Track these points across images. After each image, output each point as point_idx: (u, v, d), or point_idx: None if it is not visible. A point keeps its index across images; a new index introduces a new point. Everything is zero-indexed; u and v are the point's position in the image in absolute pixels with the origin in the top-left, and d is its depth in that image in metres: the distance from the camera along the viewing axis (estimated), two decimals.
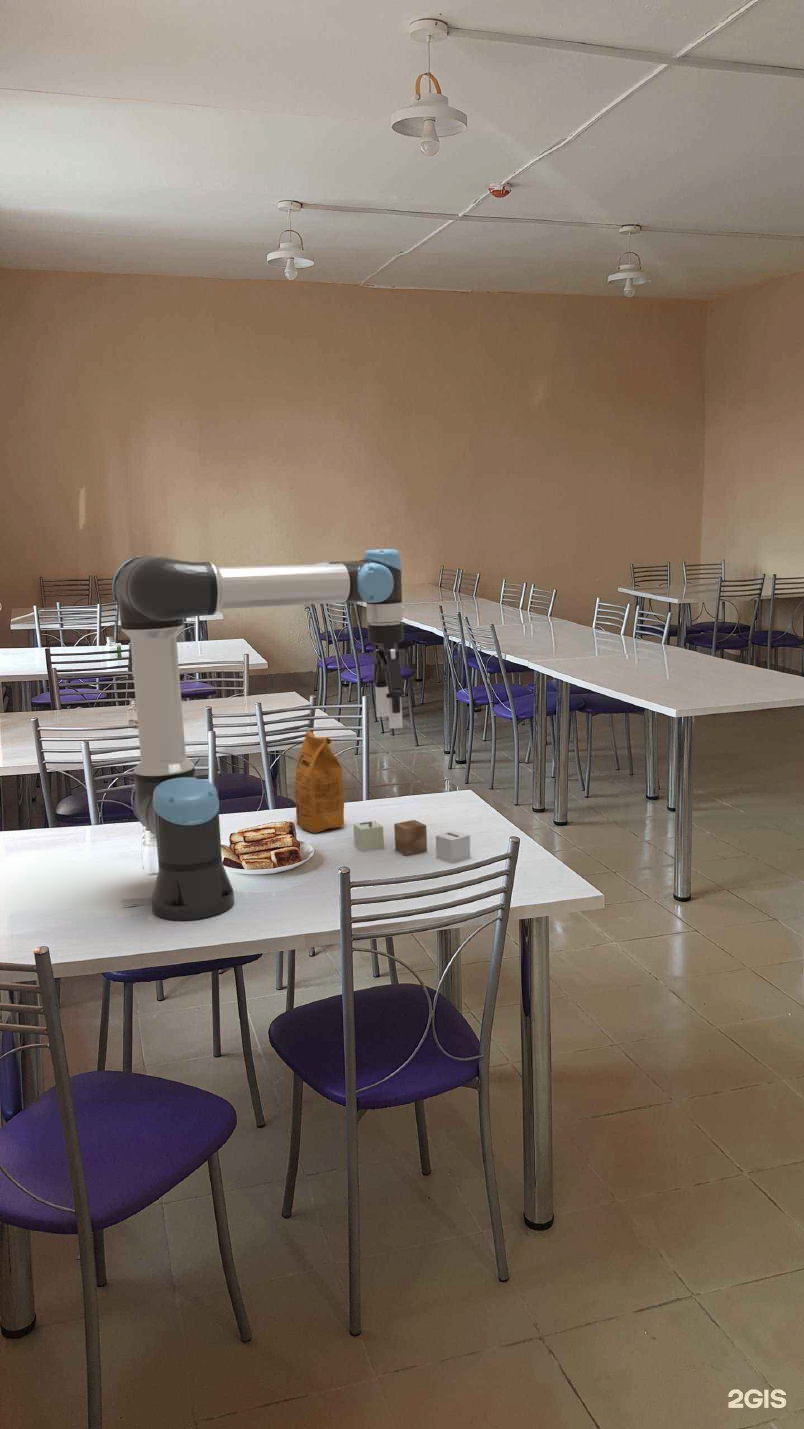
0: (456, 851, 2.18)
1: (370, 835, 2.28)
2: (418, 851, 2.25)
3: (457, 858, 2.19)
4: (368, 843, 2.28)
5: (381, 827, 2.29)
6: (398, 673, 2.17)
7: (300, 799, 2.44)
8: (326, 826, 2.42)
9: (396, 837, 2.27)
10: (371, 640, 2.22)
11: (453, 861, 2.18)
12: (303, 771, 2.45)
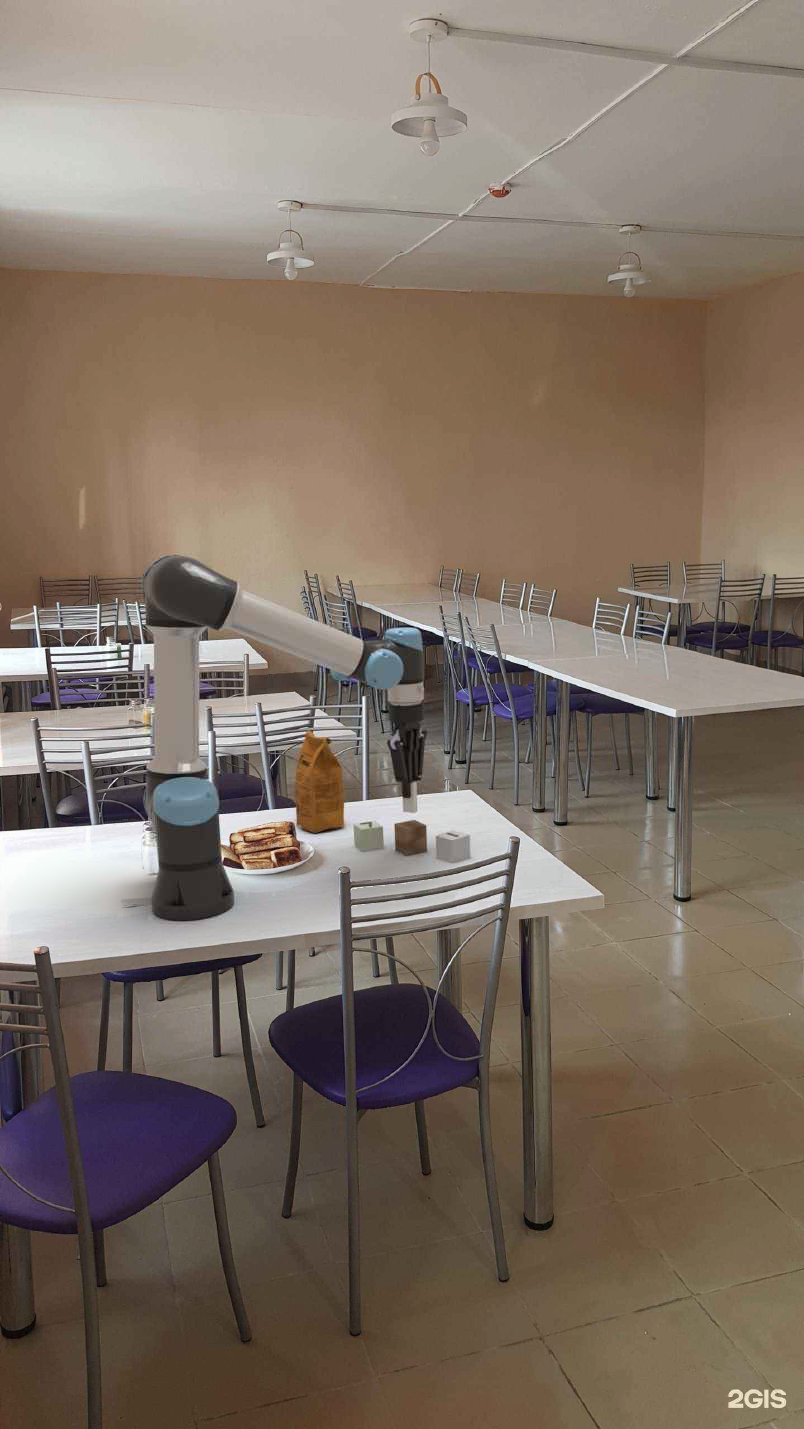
0: (456, 851, 2.18)
1: (370, 835, 2.28)
2: (418, 851, 2.25)
3: (457, 858, 2.19)
4: (368, 843, 2.28)
5: (381, 827, 2.29)
6: (399, 763, 2.19)
7: (300, 799, 2.44)
8: (326, 826, 2.42)
9: (396, 837, 2.27)
10: None
11: (453, 861, 2.18)
12: (303, 771, 2.45)
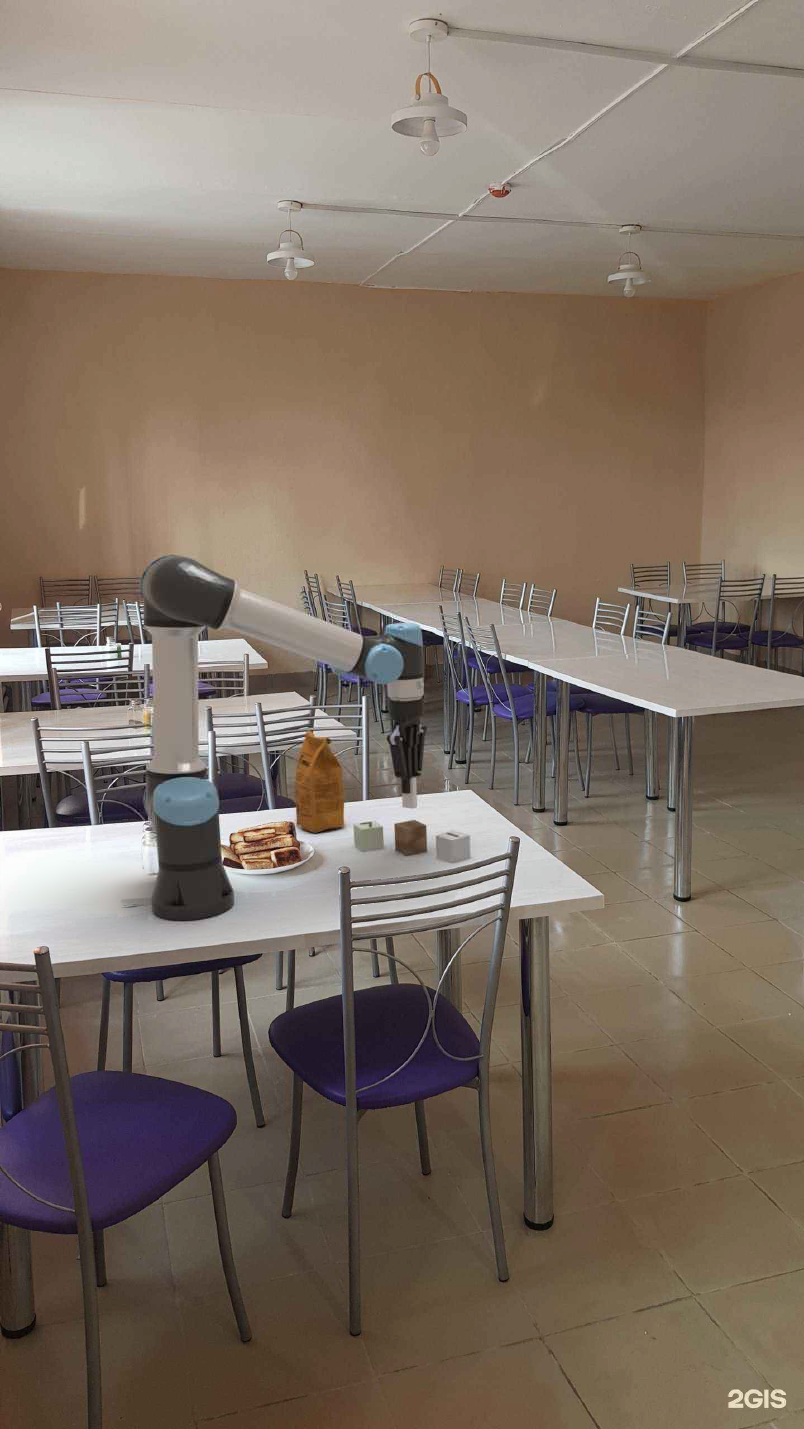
0: (456, 851, 2.18)
1: (370, 835, 2.28)
2: (418, 851, 2.25)
3: (457, 858, 2.19)
4: (368, 843, 2.28)
5: (381, 827, 2.29)
6: (399, 758, 2.19)
7: (300, 799, 2.44)
8: (326, 826, 2.42)
9: (396, 837, 2.27)
10: None
11: (453, 861, 2.18)
12: (303, 771, 2.45)
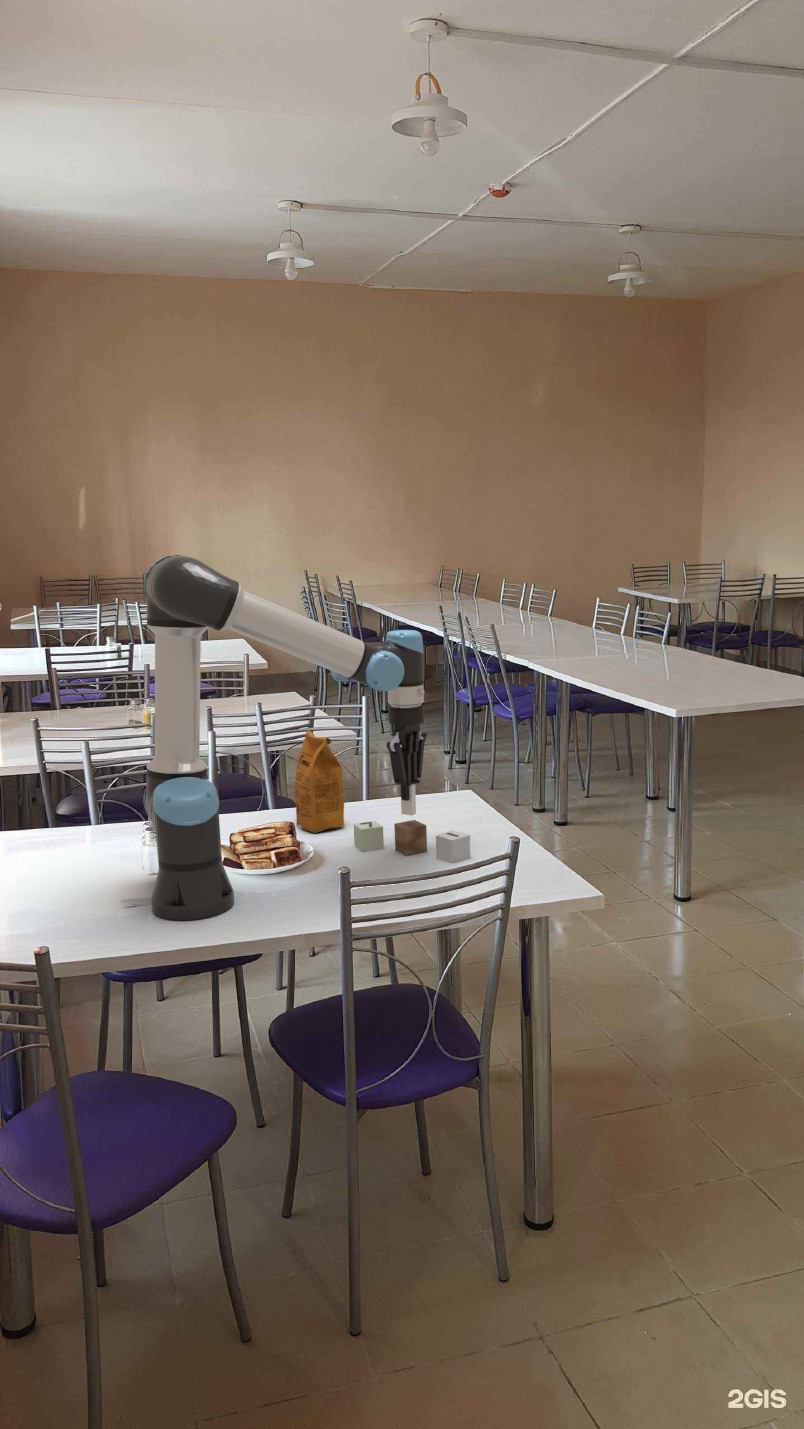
0: (456, 851, 2.19)
1: (370, 835, 2.28)
2: (418, 851, 2.25)
3: (457, 858, 2.19)
4: (368, 843, 2.28)
5: (381, 827, 2.29)
6: (398, 765, 2.19)
7: (300, 799, 2.44)
8: (326, 826, 2.42)
9: (396, 837, 2.27)
10: None
11: (453, 861, 2.18)
12: (303, 771, 2.45)
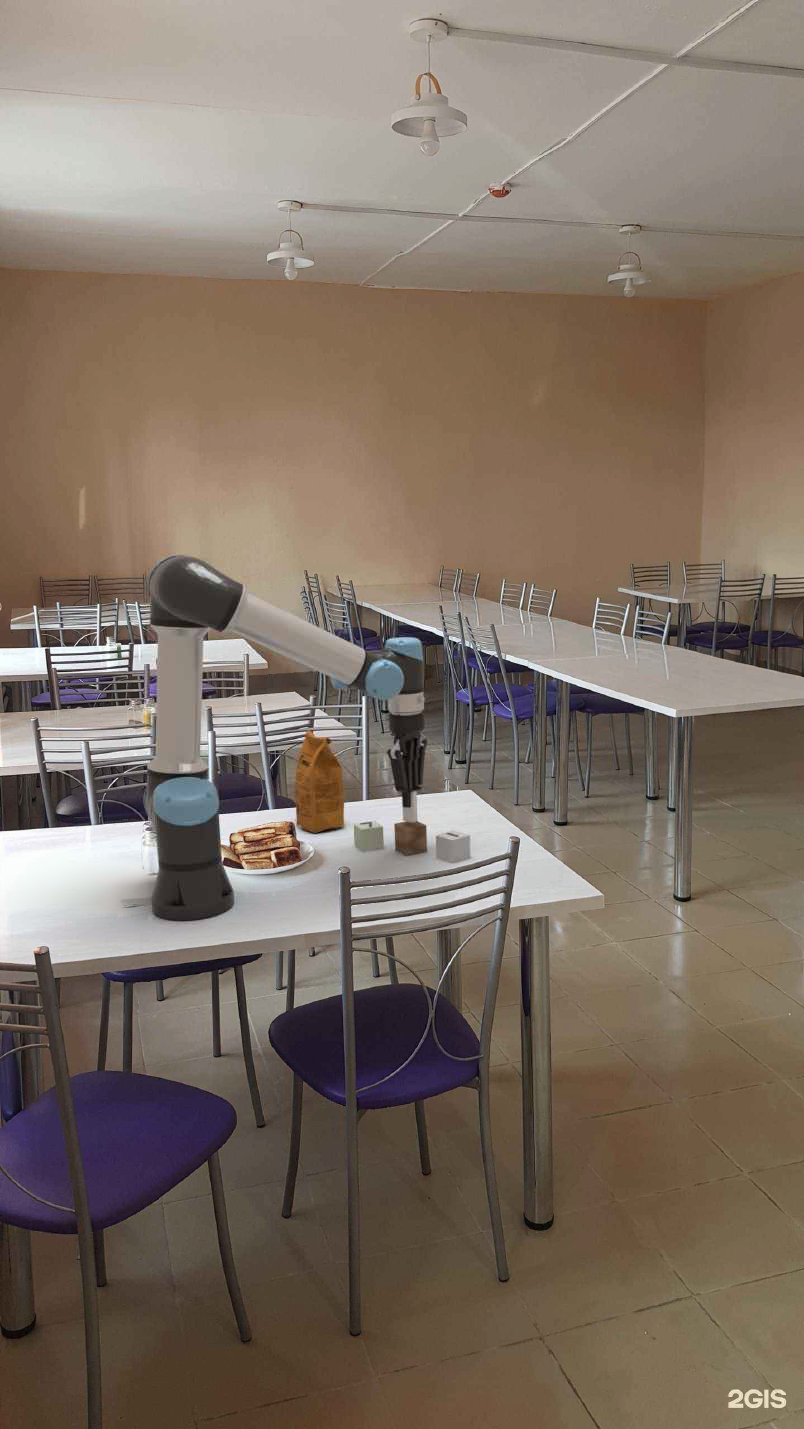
0: (456, 851, 2.19)
1: (370, 835, 2.28)
2: (418, 851, 2.25)
3: (457, 858, 2.19)
4: (368, 843, 2.28)
5: (381, 827, 2.29)
6: (399, 772, 2.19)
7: (300, 799, 2.44)
8: (326, 826, 2.42)
9: (396, 837, 2.27)
10: None
11: (453, 861, 2.18)
12: (303, 771, 2.45)
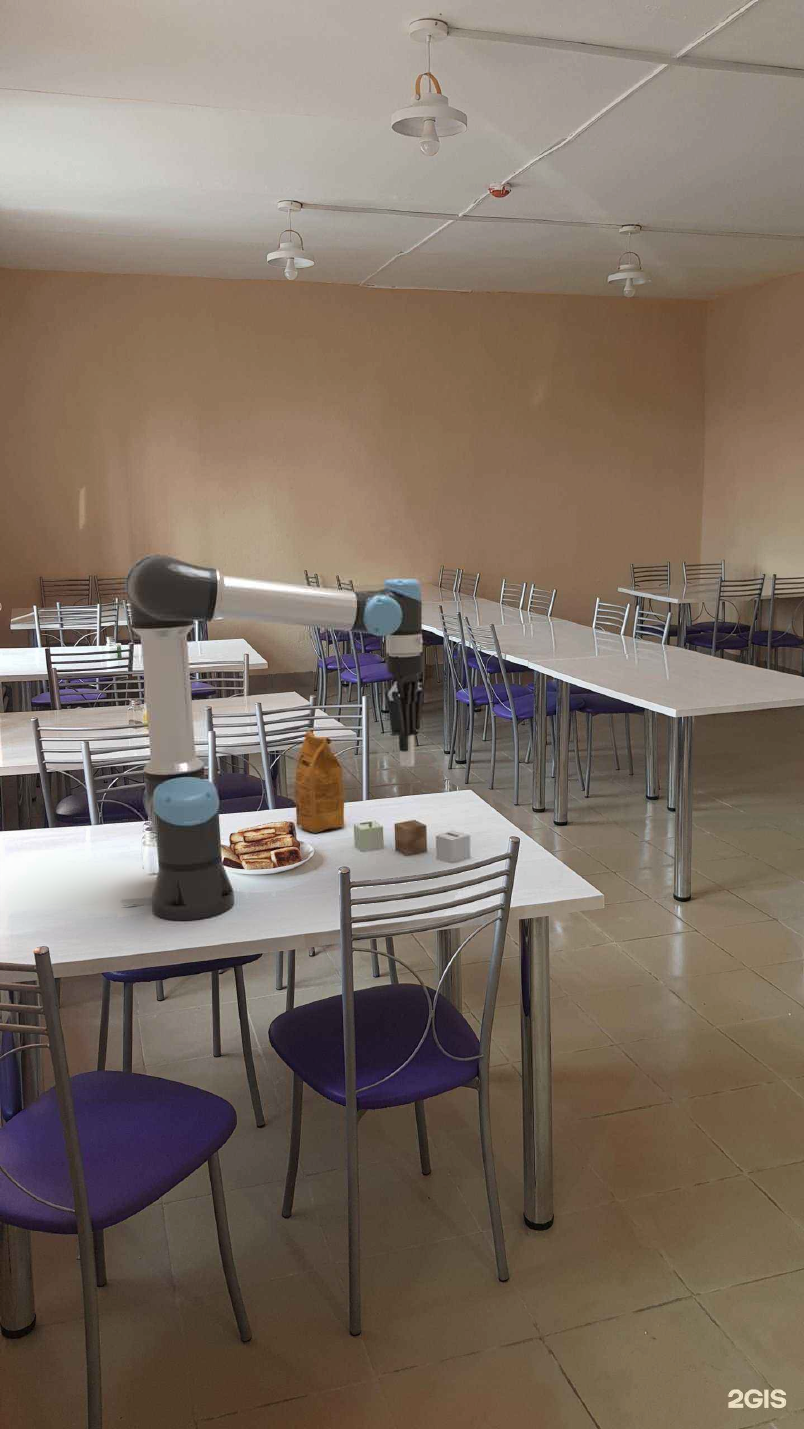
0: (456, 851, 2.19)
1: (370, 835, 2.28)
2: (418, 851, 2.25)
3: (457, 858, 2.19)
4: (368, 843, 2.28)
5: (381, 827, 2.29)
6: (397, 715, 2.17)
7: (300, 799, 2.44)
8: (326, 826, 2.42)
9: (396, 837, 2.27)
10: None
11: (453, 861, 2.18)
12: (303, 771, 2.45)
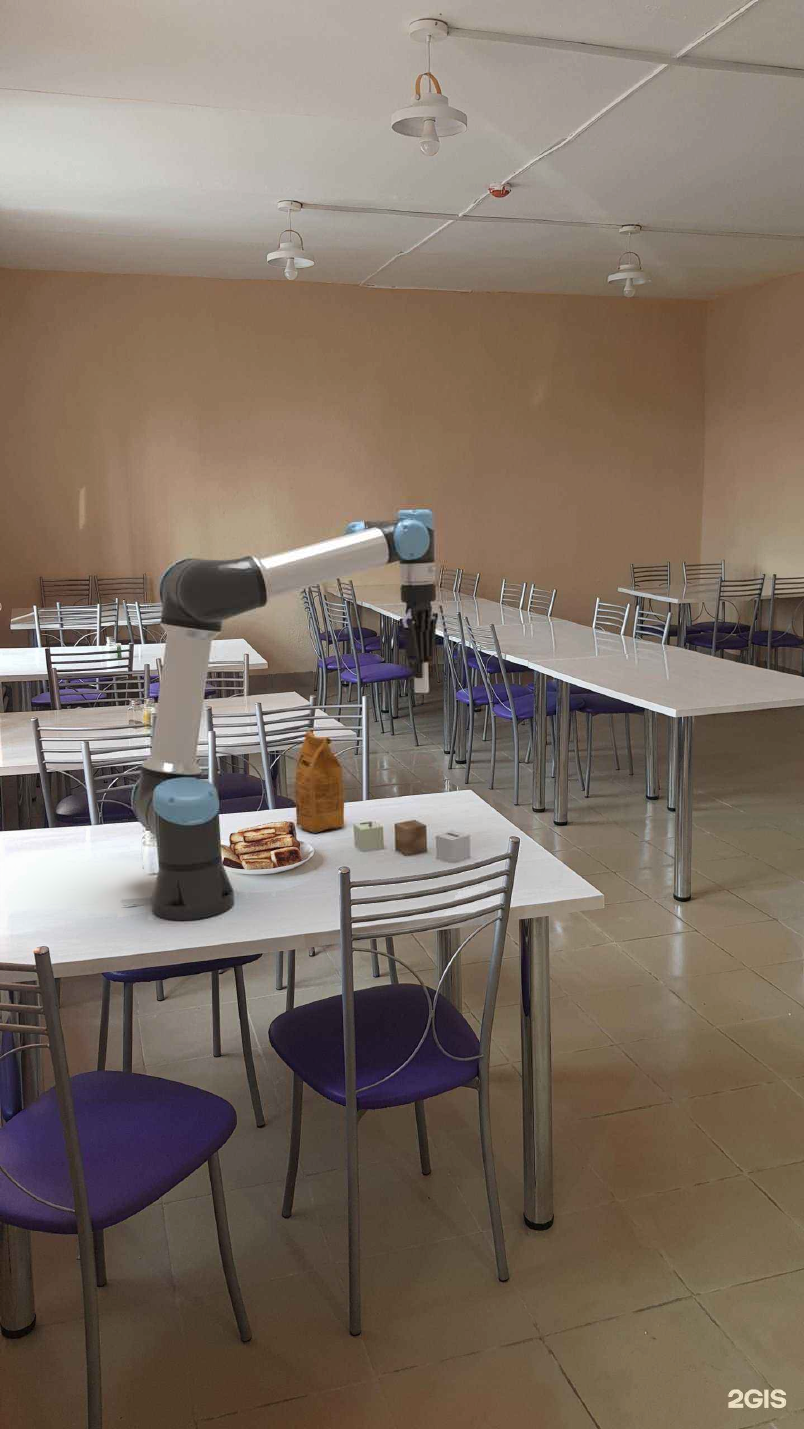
0: (456, 851, 2.19)
1: (370, 835, 2.28)
2: (418, 851, 2.25)
3: (457, 858, 2.19)
4: (368, 843, 2.28)
5: (381, 827, 2.29)
6: (411, 641, 2.24)
7: (300, 799, 2.44)
8: (326, 826, 2.42)
9: (396, 837, 2.27)
10: None
11: (453, 861, 2.18)
12: (303, 771, 2.45)
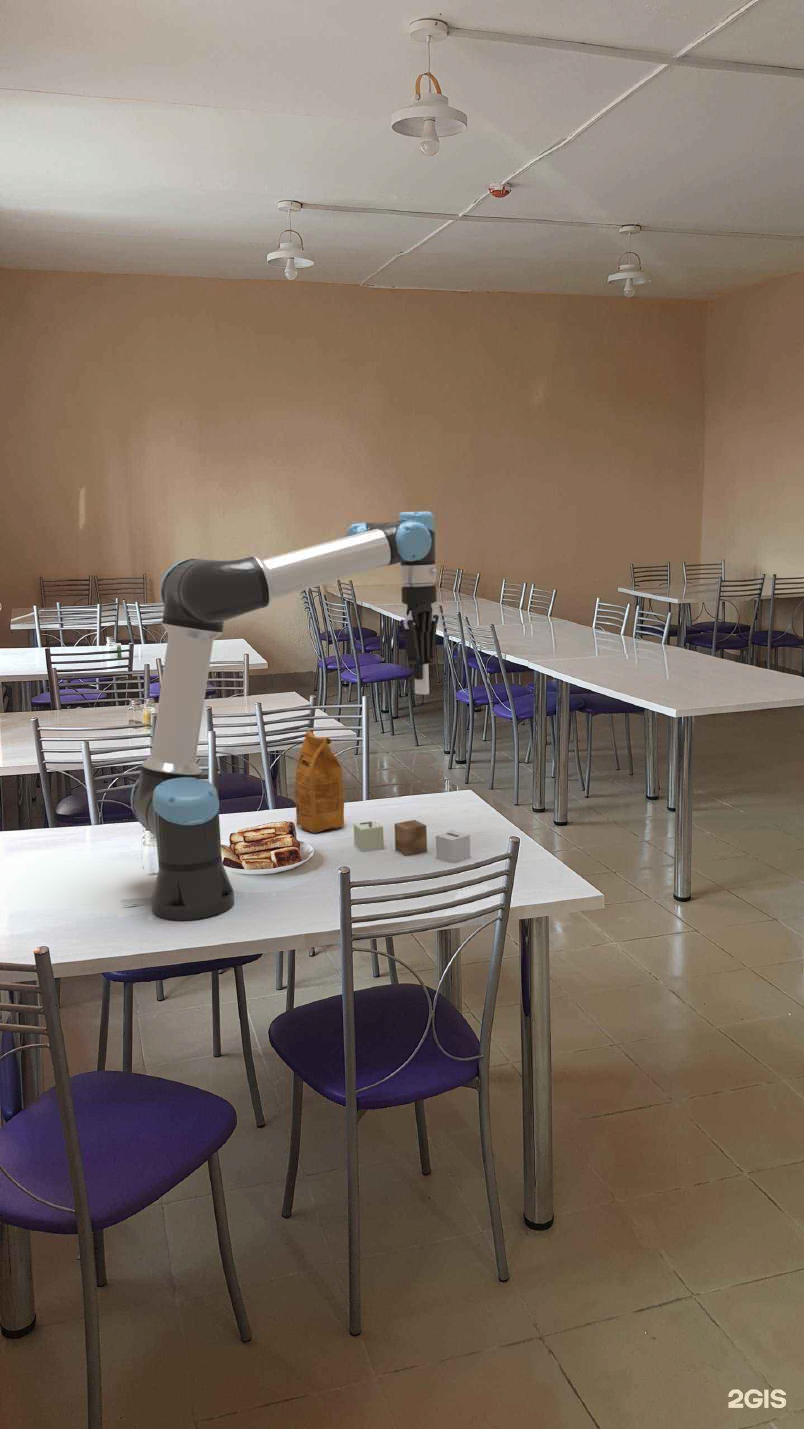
0: (456, 851, 2.19)
1: (370, 835, 2.28)
2: (418, 851, 2.25)
3: (457, 858, 2.19)
4: (368, 843, 2.28)
5: (381, 827, 2.29)
6: (412, 643, 2.25)
7: (300, 799, 2.44)
8: (326, 826, 2.42)
9: (396, 837, 2.27)
10: None
11: (453, 861, 2.18)
12: (303, 771, 2.45)
